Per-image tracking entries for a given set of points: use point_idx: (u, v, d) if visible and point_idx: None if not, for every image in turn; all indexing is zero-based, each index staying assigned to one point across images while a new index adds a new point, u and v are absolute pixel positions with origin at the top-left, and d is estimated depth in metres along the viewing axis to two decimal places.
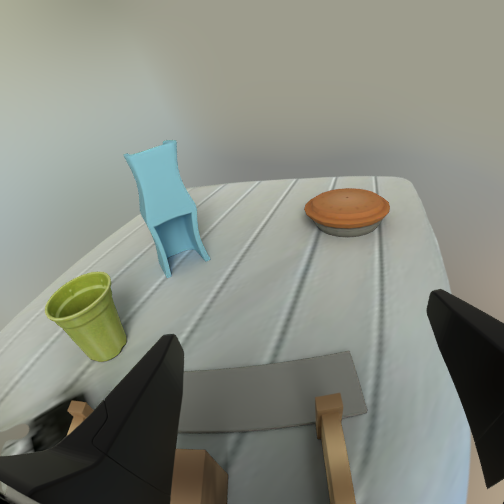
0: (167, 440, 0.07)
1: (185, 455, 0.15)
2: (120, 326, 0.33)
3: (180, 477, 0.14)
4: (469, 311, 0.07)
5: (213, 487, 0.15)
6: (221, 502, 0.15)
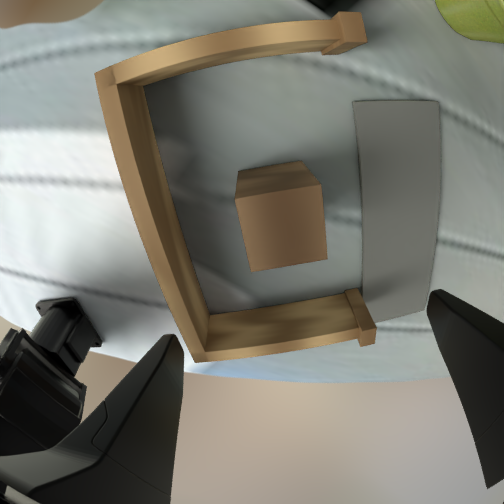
0: (167, 440, 0.07)
1: (317, 240, 0.16)
2: (493, 41, 0.11)
3: (286, 243, 0.16)
4: (469, 311, 0.07)
5: None
6: None
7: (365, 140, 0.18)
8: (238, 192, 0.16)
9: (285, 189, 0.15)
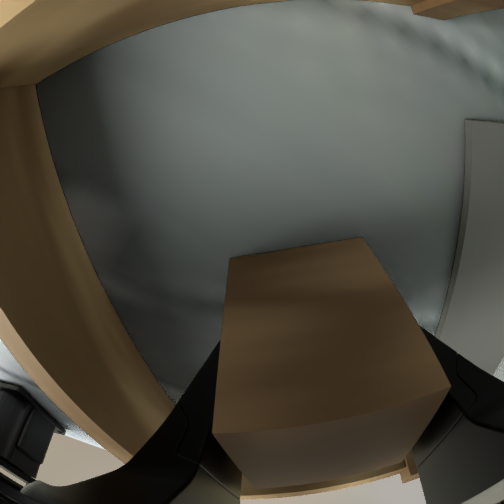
0: None
1: (396, 453, 0.06)
2: None
3: (332, 466, 0.06)
4: None
5: None
6: None
7: (479, 198, 0.08)
8: (224, 389, 0.05)
9: (359, 410, 0.04)
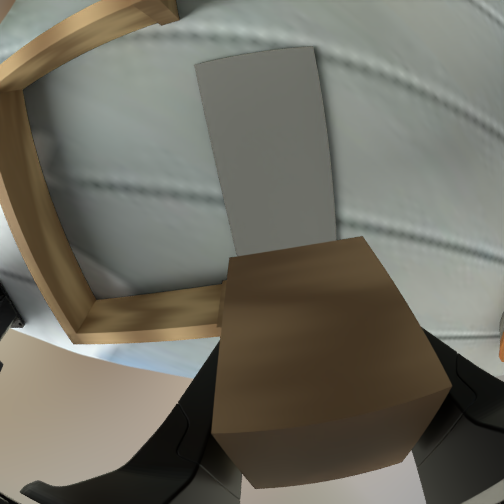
0: None
1: (396, 452, 0.06)
2: None
3: (332, 467, 0.06)
4: None
5: None
6: None
7: (211, 104, 0.16)
8: (223, 388, 0.05)
9: (359, 410, 0.04)
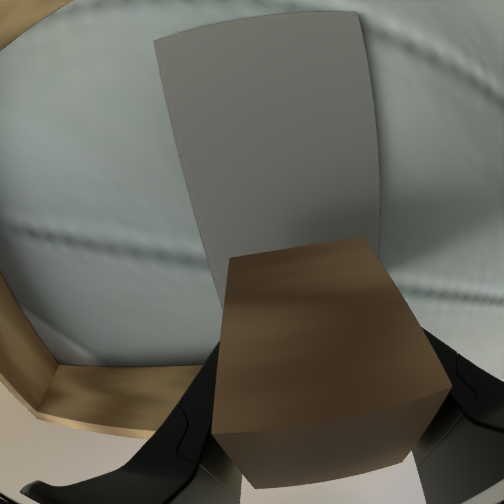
0: None
1: (397, 452, 0.06)
2: None
3: (332, 467, 0.06)
4: None
5: None
6: None
7: (182, 107, 0.09)
8: (223, 389, 0.05)
9: (359, 410, 0.04)
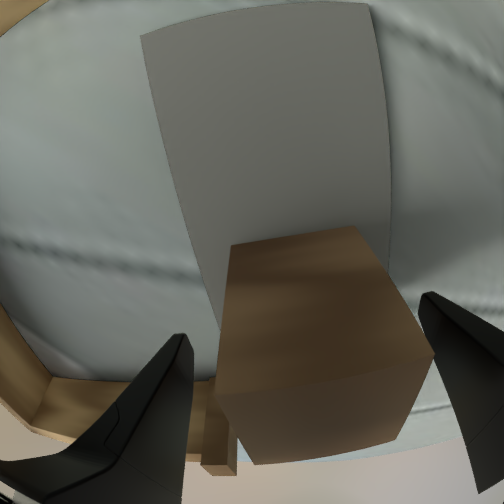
0: (178, 441, 0.07)
1: (389, 427, 0.06)
2: None
3: (327, 439, 0.06)
4: (460, 314, 0.07)
5: None
6: None
7: (171, 109, 0.08)
8: (225, 356, 0.06)
9: (348, 373, 0.05)
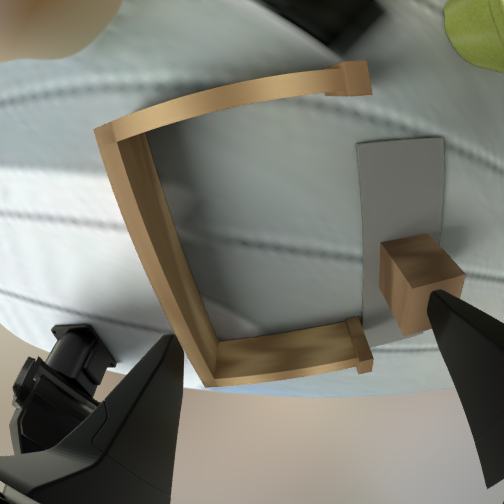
0: (167, 440, 0.07)
1: None
2: None
3: None
4: (469, 311, 0.07)
5: None
6: None
7: (368, 182, 0.19)
8: (408, 278, 0.17)
9: (444, 279, 0.16)
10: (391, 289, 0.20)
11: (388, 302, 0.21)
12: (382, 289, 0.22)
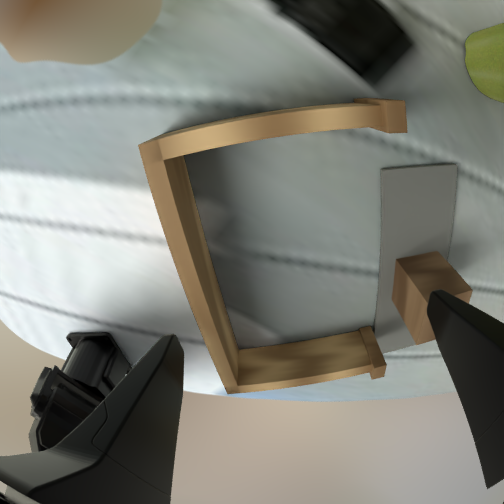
0: (167, 440, 0.07)
1: None
2: None
3: None
4: (469, 311, 0.07)
5: None
6: None
7: (389, 205, 0.20)
8: (423, 294, 0.18)
9: (454, 294, 0.17)
10: (405, 302, 0.22)
11: (401, 313, 0.23)
12: (395, 302, 0.24)
